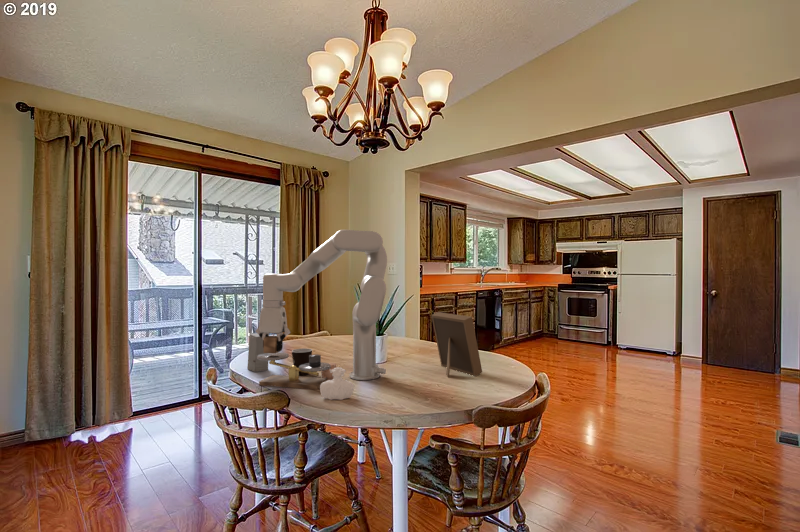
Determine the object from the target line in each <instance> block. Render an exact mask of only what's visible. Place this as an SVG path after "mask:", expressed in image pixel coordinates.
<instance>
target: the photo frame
mask: <svg viewBox="0 0 800 532" xmlns="http://www.w3.org/2000/svg"><path fill="white" fill-rule="evenodd" d="M430 316H431V320H432V325H433V330H434V336H435V341H436V345H437V350H438V355H439V360H440V361H439V362H440V365H441V367H443V368H446V367H447V368H446V377H447V378H449V377H450V370H453V371H456V370H457V372H459V371H460V373H462V372H463V374H466V373H467V374H466V375H469V374H470V375H469V376H472V375H473V376H472V377H477V376H479V375H481V374H482V373H483V369H482V363H481V357H480V353H479V347H478V341H477V336H476V331H475V325H474V321H473V320H474V319H473V316H470V315H469V316H467V315H460V314H455V313H454V314H453V313H446V312H440V311H437V312H435V313H432V314H431V315H430Z"/></svg>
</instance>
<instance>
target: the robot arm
mask: <svg viewBox="0 0 800 532" xmlns="http://www.w3.org/2000/svg"><path fill="white" fill-rule="evenodd" d="M383 244H384V241H383V237H382V236H381V234H379V233H378V232H377V231H373V230H372V231H371V230H355V229H340V230H338V231H336V232H335V234H333V235H331V237H329V239H327V240H326V241H325V242H324V243H322V244H321V245H320V246H318V247H317V248H316V249H315V250H313V251H312V252H311V253H310V255H309V256H308V257H307V258H306V259H305V260H304V261H302V262H301V263H300V264H299V265H298V266H296V268H295V269H293V270H292V271H291V272H290V273H283V274H282V273H265V274H264V275H263V276H262V277H263V278H262V307H261V310H260V314H259V325H258V327H257V329H255V334H256V333H257V334H258V335H259V336H260V337H261V338H262V340H263V348H264V337H267V336H270V334H274V335H275V336H277V339H278V341H277V351H280V350H283V348H284V346H283V342H284V340H285V338H286V337H287V336H288V335H290V334H291V330H290V329H289V328H288V319H287V312H286V311H287V310H286V309H285V307H284V306H286V301H284V296H283V295H284V292H289V293H295V292H297V291H299V290H300V289H301V288H302V287H303V286H304V285H305V284H306V283H308V282H309V281H310V280H311V279H312V278H314V277H315V276H316V275H317V274H320V273H321V272H322V271H325V269H327V268H328V267H329V266H331V265H332V264H333V263H334V262H336V261H337V260H338V259H339V258H340V257H341V256H343V255H344V254H345V253H346V252H358V253H360V252H361V253H364V254H365V255H366V265H365V268H364V272H363V277H362V280H361V282H360V292H361V293H360V297H359V301H358V302H356V303H355V305H354V306H353V309H352V335H353V336H352V340H353V341H352V352H353V353H352V355H353V356H352V357H353V358H352V364H353V365H352V367H353V368H352V370H353V371H352V372H350V373H349V376H348V377H349V378H351V379H353V380H357V381H369V380H375V379H378V378H379V377H380V376H381V374H382V375H384V374H387V372H386V371H387V370H386V368H384V367H379V364H377V326H376V324H377V322H378V321H379V319H380V316H381V312H382V310H383V305H384V301H385V297H386V293H387V284H386V283H385V281H384V279H385V274H386V269H387V265H388V255H387V251H386V249H385V247H384V246H383ZM280 352H281V351H280Z"/></svg>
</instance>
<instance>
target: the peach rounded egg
mask: <svg viewBox="0 0 800 532" xmlns="http://www.w3.org/2000/svg"><path fill="white" fill-rule="evenodd" d="M327 363H328V364H330V365H331V368H330V369H327V370H324V371H320V372H321V373H320V374H321V377H320V378H327V381H328V380H332V379H333V378H334V376H332V373H333V372H332V373H330V371H329V370H332V369H334V368H337V363H335V362H327Z"/></svg>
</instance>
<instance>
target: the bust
mask: <svg viewBox="0 0 800 532" xmlns="http://www.w3.org/2000/svg"><path fill="white" fill-rule="evenodd" d="M329 371H330V373H332V372H333V373H332V376H334V378H333V379H332V380H328V381H326V382H323V383H322V384H321V385H320V387H319V392H320V395H321V397H322V398H323V399H328V400H331V401H332V400H339V401H343V400H344V399H349V398H351V397H352V395H353V393H354V389H355V385H354V383H353V382H352V381H349V380H347V379H343V377H344V376H345V373H346V372H347V370H346V369H344V368H343V367H340V366H336V368H334V369H332V370H329ZM342 376H343V377H342Z"/></svg>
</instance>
